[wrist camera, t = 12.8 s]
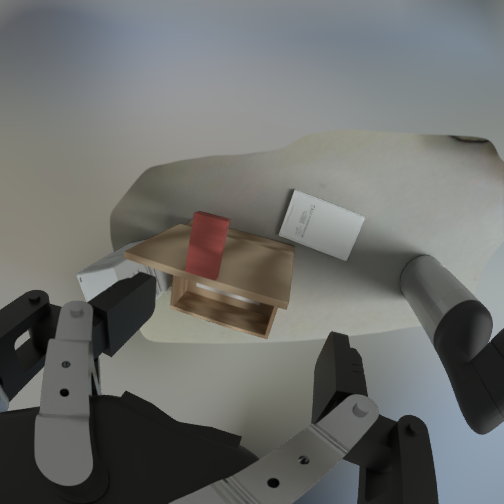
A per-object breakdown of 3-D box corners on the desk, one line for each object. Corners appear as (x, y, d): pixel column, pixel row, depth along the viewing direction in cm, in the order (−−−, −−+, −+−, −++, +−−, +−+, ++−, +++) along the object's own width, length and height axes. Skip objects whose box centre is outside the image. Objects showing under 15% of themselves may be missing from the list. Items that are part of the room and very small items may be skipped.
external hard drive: (345, 258, 47) (278, 233, 47) (363, 215, 44) (294, 188, 44) (346, 261, 45) (277, 236, 46) (365, 217, 42) (294, 189, 43)
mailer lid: (292, 260, 40) (305, 216, 38) (286, 309, 26) (307, 243, 24) (178, 228, 42) (186, 185, 40) (123, 258, 28) (129, 196, 26)
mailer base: (294, 246, 47) (292, 260, 41) (272, 318, 52) (267, 339, 46) (195, 218, 49) (179, 228, 42) (184, 291, 54) (170, 307, 48)
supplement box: (141, 283, 56) (94, 324, 40) (128, 242, 53) (73, 274, 37) (179, 279, 53) (135, 324, 38) (165, 234, 51) (113, 267, 35)
